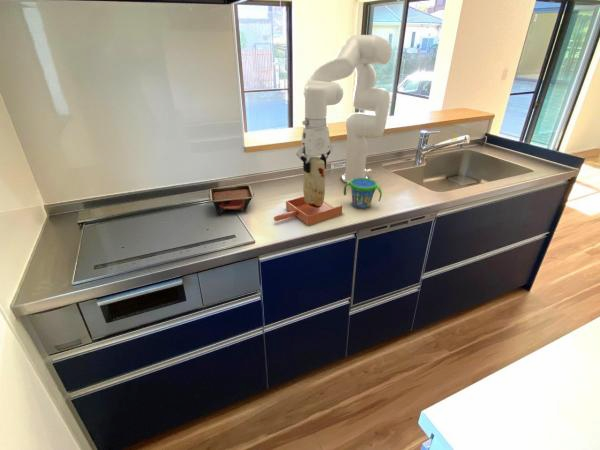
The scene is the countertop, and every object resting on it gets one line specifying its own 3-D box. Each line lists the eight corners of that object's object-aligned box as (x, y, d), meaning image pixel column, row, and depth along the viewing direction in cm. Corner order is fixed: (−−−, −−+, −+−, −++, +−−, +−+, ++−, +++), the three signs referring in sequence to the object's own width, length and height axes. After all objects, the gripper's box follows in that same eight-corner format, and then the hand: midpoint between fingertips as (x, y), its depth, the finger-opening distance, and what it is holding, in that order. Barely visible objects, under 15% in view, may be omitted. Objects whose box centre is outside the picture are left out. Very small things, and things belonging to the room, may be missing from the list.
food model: (299, 204, 139) (298, 157, 129) (309, 198, 143) (309, 152, 133) (319, 211, 133) (319, 162, 123) (329, 205, 138) (330, 157, 128)
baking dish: (252, 218, 139) (254, 195, 135) (207, 216, 135) (207, 192, 131) (250, 205, 152) (252, 183, 148) (209, 202, 148) (209, 180, 144)
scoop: (318, 199, 149) (318, 191, 147) (342, 214, 138) (342, 205, 136) (264, 216, 137) (263, 207, 135) (285, 233, 125) (284, 224, 123)
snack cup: (383, 204, 145) (386, 181, 140) (375, 214, 137) (377, 191, 132) (348, 196, 152) (350, 174, 147) (339, 206, 144) (340, 183, 139)
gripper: (300, 128, 115) (301, 178, 124) (341, 121, 123) (338, 168, 132) (289, 123, 121) (290, 171, 129) (328, 117, 129) (327, 162, 138)
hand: (314, 169), depth 131 cm, fingers closed on food model, 6 cm apart
